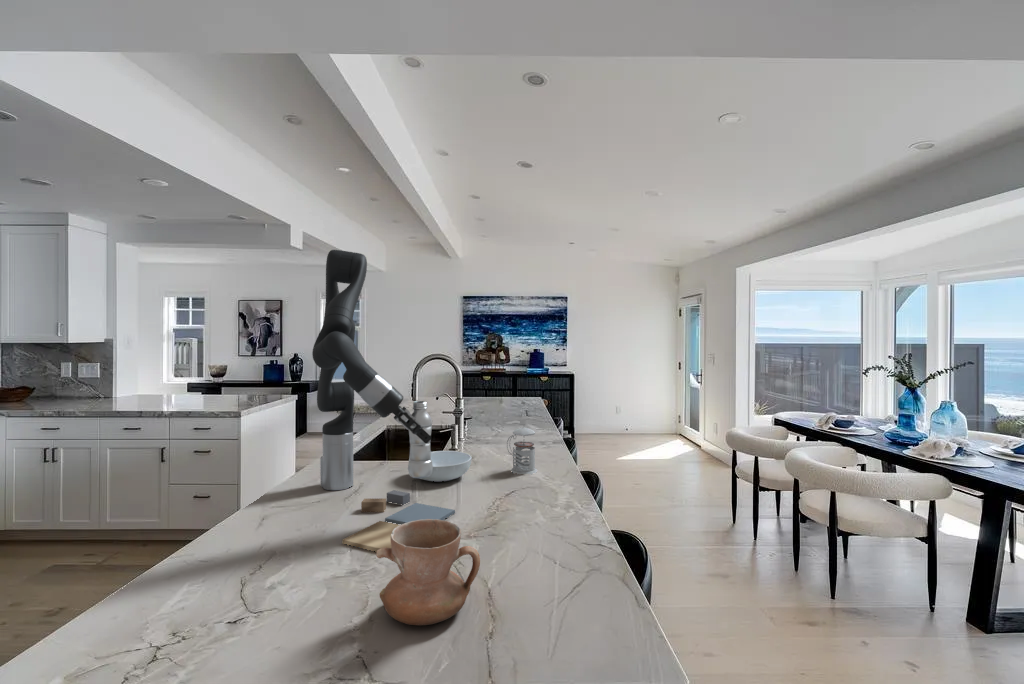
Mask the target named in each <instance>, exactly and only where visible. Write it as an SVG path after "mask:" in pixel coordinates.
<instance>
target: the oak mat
mask: <svg viewBox="0 0 1024 684" xmlns="http://www.w3.org/2000/svg"><path fill="white" fill-rule="evenodd" d="M397 526H399V525H398V524H393V523H388V522H385V521H383V520H382V521H381V520H379V521H377V522H374V523H372V524H371V525H368V526H367V527H365V528H363V529H360V530H359V531H357V532H355V533H353V534H350V535H349V536H347V537H345V538H343V539H342V540H341V544H342V545H344V544H347V545H346V546H349V545H351V546H350V547H353V546H356V547H355V548H357V547H360V548H359V549H361V548H363V549H362V550H365V549H367V550H366V551H369V550H371V552H374V551H375V552H374V553H377V550H379V549H381V548H386V547H387V548H392V547H391V534H392V531H393V530H394V529H395V528H396V527H397Z"/></svg>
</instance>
